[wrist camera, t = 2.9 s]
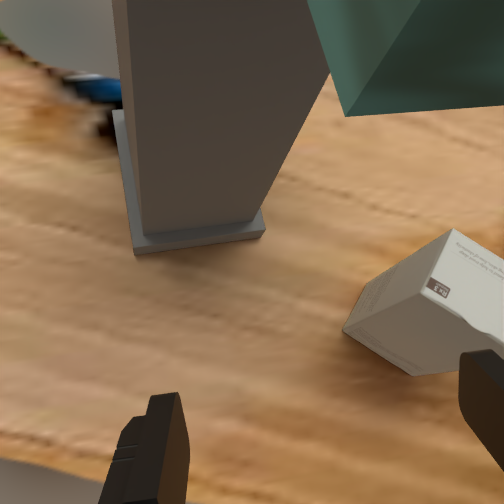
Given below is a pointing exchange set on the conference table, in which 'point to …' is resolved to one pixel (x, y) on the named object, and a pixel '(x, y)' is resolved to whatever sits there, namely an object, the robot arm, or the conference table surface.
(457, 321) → the skincare box
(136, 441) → the robot arm
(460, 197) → the conference table surface
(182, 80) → the pedestal
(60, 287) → the conference table surface
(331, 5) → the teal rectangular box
